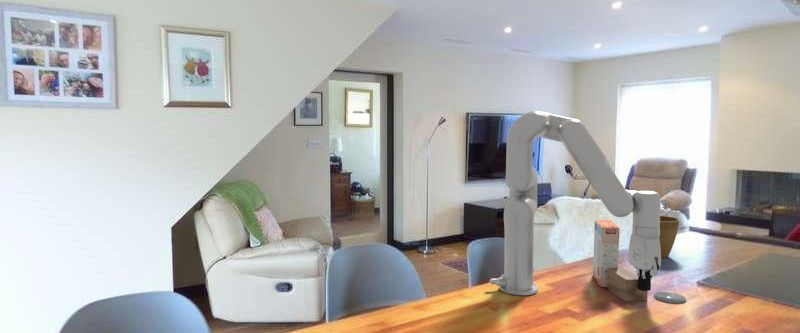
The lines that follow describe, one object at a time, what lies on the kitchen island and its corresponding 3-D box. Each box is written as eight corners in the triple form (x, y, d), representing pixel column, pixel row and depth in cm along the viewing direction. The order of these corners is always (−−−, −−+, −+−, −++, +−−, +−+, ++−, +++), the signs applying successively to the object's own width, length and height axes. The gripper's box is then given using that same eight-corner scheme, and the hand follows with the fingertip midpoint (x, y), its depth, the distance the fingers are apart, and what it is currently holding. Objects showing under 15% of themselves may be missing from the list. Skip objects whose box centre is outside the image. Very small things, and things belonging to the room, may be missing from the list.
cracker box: (618, 288, 171) (620, 227, 170) (599, 287, 173) (601, 227, 171) (609, 276, 185) (611, 219, 183) (592, 275, 186) (593, 219, 184)
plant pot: (679, 254, 215) (680, 216, 213) (676, 262, 202) (678, 222, 201) (640, 249, 223) (641, 213, 221) (635, 257, 210) (636, 219, 209)
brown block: (625, 301, 159) (626, 279, 159) (607, 288, 171) (607, 268, 171) (647, 300, 160) (648, 278, 159) (627, 288, 172) (628, 268, 171)
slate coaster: (665, 304, 157) (666, 302, 157) (647, 294, 166) (647, 292, 166) (692, 302, 158) (692, 300, 158) (672, 292, 167) (672, 291, 167)
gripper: (620, 227, 162) (619, 283, 164) (649, 237, 148) (648, 299, 149) (642, 226, 164) (640, 281, 165) (673, 236, 149) (671, 297, 150)
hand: (644, 289), depth 157 cm, fingers closed
